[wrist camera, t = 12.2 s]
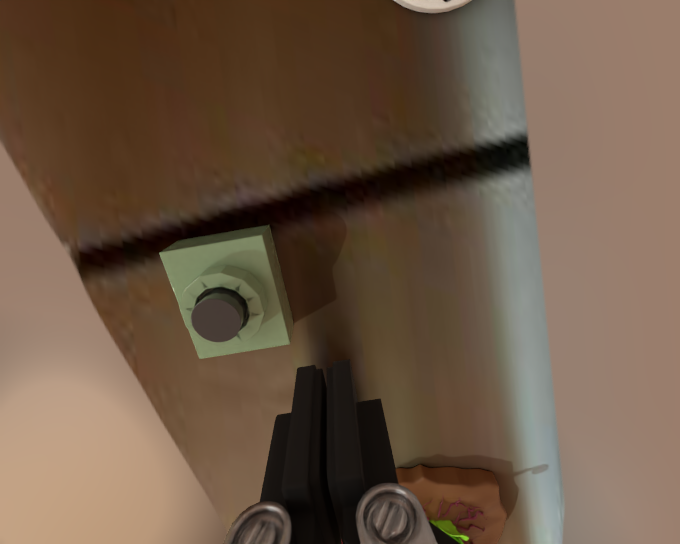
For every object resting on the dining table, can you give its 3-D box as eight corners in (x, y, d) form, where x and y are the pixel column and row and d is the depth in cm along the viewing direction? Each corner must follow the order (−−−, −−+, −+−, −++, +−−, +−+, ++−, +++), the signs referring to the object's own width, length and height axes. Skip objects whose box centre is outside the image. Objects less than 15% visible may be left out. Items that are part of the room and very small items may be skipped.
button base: (178, 240, 32) (146, 260, 26) (269, 224, 32) (257, 241, 26) (212, 337, 36) (191, 372, 30) (294, 323, 36) (288, 356, 30)
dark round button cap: (193, 292, 28) (183, 303, 26) (239, 284, 28) (233, 295, 26) (207, 333, 29) (199, 346, 27) (252, 325, 29) (246, 338, 27)
